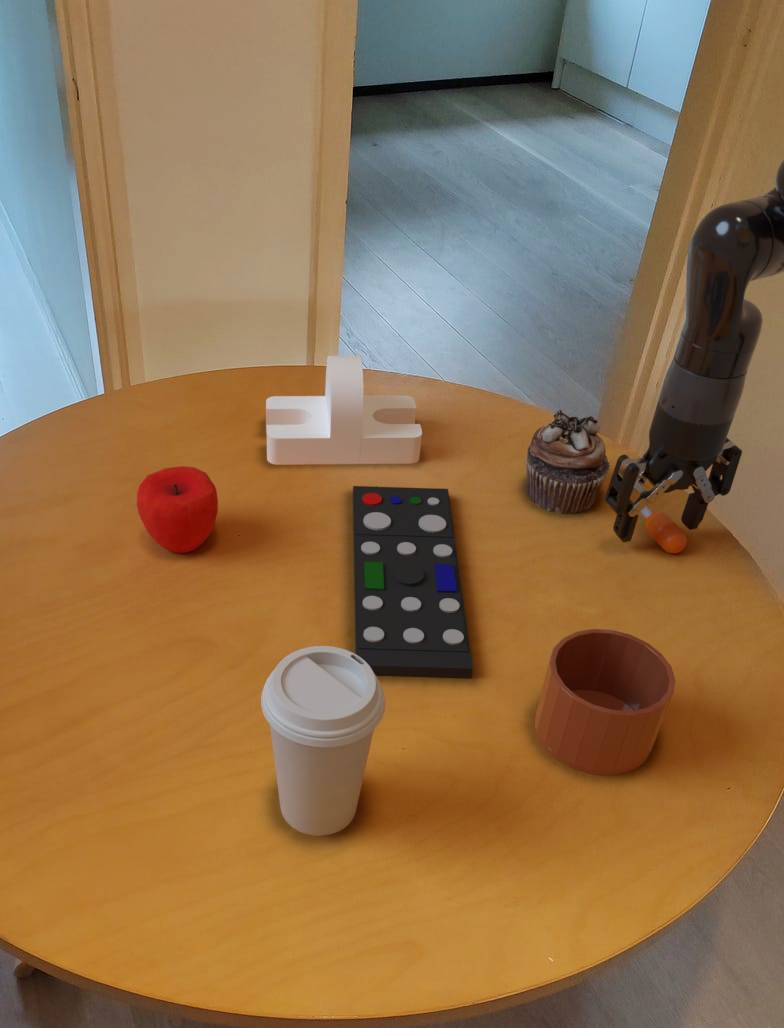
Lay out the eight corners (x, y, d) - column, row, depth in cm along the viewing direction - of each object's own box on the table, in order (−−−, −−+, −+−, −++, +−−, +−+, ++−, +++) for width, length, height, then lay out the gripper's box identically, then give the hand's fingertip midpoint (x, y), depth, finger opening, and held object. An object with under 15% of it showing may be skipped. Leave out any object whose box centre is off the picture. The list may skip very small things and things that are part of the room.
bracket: (410, 421, 134) (418, 340, 126) (420, 464, 126) (430, 380, 119) (265, 422, 133) (265, 340, 125) (267, 465, 126) (266, 381, 118)
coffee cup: (392, 833, 85) (408, 709, 75) (284, 865, 83) (285, 741, 72) (348, 751, 92) (357, 627, 82) (247, 779, 89) (244, 654, 79)
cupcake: (516, 512, 119) (531, 437, 112) (523, 467, 126) (537, 395, 119) (599, 524, 118) (619, 450, 111) (602, 479, 125) (620, 406, 118)
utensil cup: (671, 726, 95) (695, 665, 89) (619, 795, 89) (641, 734, 83) (569, 674, 99) (586, 613, 94) (513, 736, 93) (528, 674, 88)
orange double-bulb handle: (676, 562, 114) (696, 544, 113) (664, 552, 112) (684, 534, 111) (638, 521, 119) (656, 504, 118) (626, 511, 118) (645, 493, 117)
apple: (158, 511, 118) (153, 453, 113) (230, 524, 116) (228, 466, 111) (128, 557, 112) (121, 497, 106) (204, 572, 110) (200, 512, 105)
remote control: (446, 499, 121) (448, 485, 120) (470, 679, 99) (473, 664, 97) (352, 496, 121) (353, 482, 120) (355, 675, 99) (356, 661, 97)
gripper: (656, 431, 99) (617, 562, 110) (779, 411, 102) (729, 540, 113) (616, 394, 104) (582, 522, 115) (735, 376, 107) (691, 502, 118)
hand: (655, 531), depth 114 cm, fingers open, 8 cm apart
